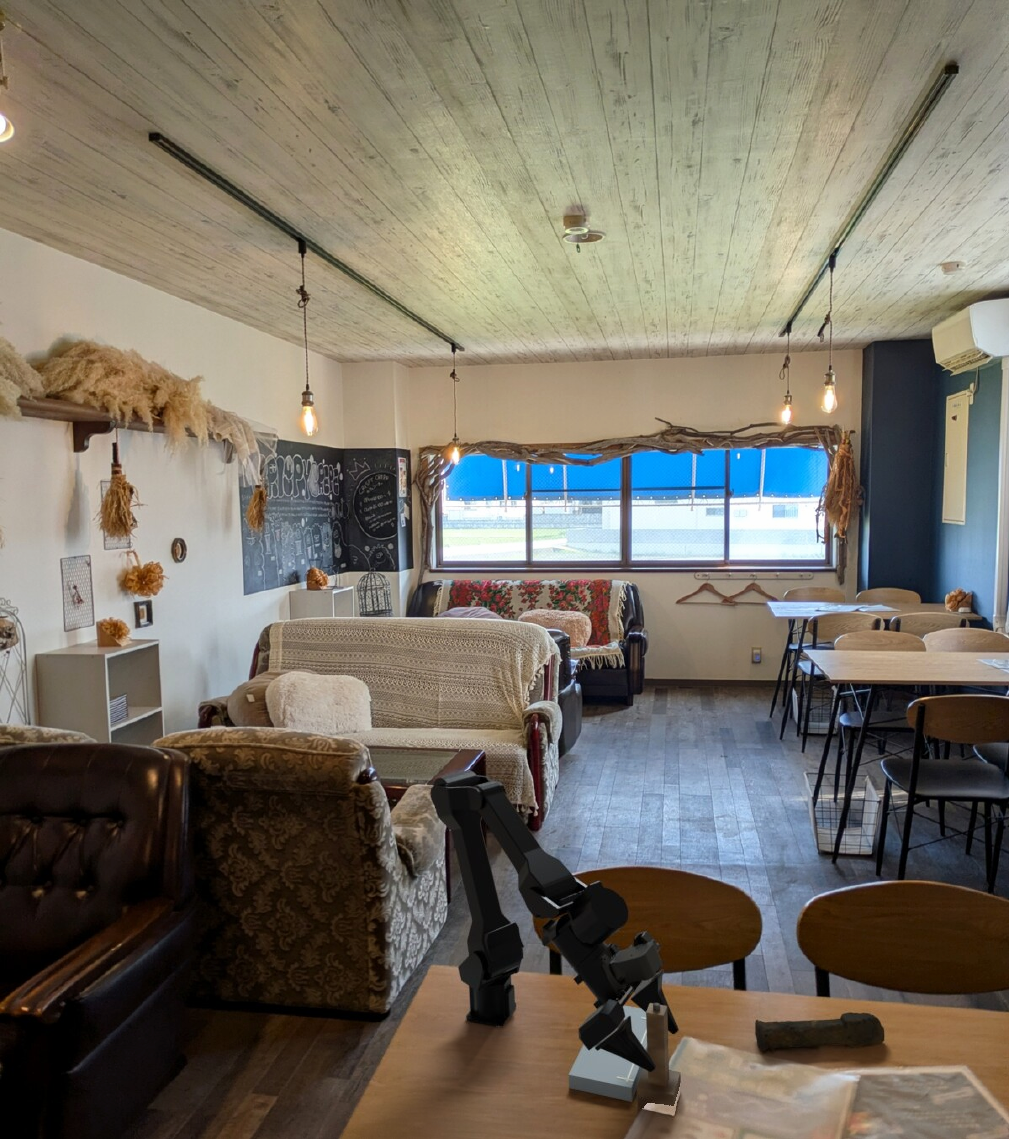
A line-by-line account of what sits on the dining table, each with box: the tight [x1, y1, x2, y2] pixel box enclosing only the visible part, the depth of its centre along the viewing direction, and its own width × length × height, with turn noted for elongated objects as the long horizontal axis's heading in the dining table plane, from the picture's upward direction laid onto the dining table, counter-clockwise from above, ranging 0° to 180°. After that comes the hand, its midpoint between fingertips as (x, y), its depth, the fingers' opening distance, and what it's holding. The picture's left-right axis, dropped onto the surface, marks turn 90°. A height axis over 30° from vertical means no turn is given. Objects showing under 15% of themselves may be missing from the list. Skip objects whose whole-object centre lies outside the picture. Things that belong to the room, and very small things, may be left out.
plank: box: [568, 1005, 647, 1103], centre depth 130 cm, size 9×19×2 cm, turn 158°
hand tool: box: [754, 1011, 886, 1053], centre depth 130 cm, size 19×4×5 cm, turn 87°
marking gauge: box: [636, 1003, 682, 1110], centre depth 119 cm, size 5×5×14 cm
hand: (665, 1050), depth 118 cm, fingers open, 9 cm apart
